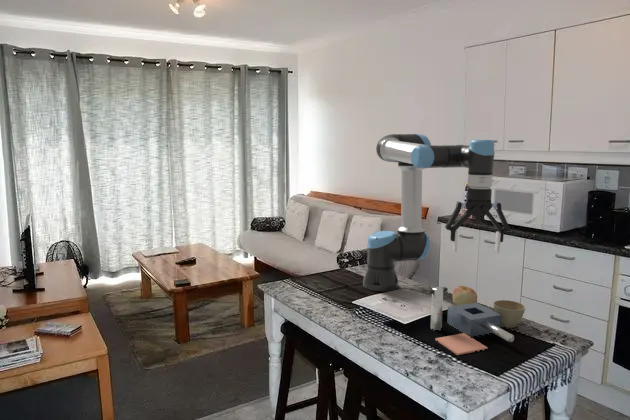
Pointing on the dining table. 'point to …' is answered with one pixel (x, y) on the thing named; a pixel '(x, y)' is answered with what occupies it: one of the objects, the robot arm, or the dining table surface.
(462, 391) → the dining table surface
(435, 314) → the key
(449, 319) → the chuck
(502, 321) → the beige bowl
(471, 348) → the mat
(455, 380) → the dining table surface
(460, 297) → the apple
